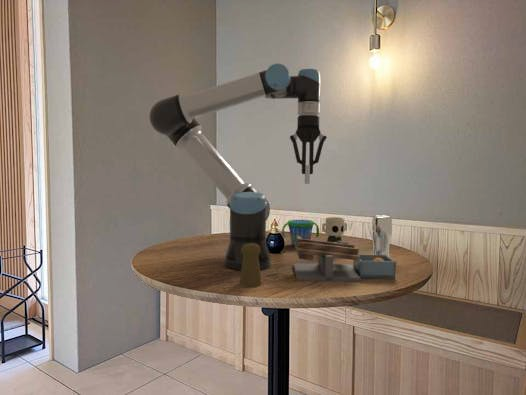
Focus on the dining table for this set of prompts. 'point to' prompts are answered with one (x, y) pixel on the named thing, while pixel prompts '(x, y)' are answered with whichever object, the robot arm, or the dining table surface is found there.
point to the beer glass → (381, 234)
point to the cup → (375, 267)
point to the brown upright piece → (250, 265)
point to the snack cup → (300, 229)
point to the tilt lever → (325, 249)
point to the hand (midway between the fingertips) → (307, 183)
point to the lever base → (325, 271)
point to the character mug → (334, 228)
